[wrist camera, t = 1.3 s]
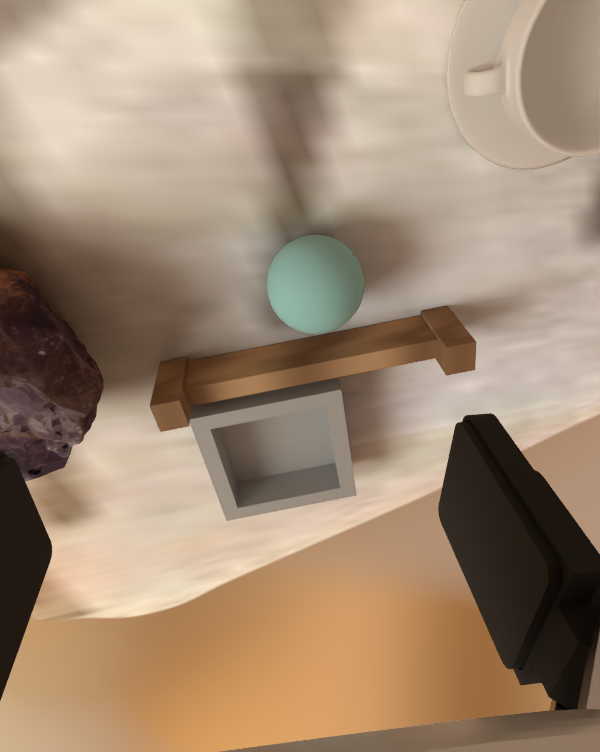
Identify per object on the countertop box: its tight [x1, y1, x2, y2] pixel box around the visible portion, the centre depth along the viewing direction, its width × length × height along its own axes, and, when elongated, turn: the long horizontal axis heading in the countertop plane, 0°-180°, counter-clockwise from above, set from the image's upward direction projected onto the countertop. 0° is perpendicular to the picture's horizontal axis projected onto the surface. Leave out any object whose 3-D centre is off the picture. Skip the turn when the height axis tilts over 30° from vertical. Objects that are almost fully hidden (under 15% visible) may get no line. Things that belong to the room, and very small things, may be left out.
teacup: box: [447, 0, 600, 169], centre depth 22 cm, size 10×10×5 cm
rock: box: [0, 268, 103, 481], centre depth 25 cm, size 12×9×10 cm
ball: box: [267, 235, 364, 334], centre depth 26 cm, size 5×5×5 cm
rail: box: [150, 306, 476, 432], centre depth 29 cm, size 18×2×4 cm, turn 99°
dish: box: [190, 377, 356, 521], centre depth 33 cm, size 9×9×3 cm
